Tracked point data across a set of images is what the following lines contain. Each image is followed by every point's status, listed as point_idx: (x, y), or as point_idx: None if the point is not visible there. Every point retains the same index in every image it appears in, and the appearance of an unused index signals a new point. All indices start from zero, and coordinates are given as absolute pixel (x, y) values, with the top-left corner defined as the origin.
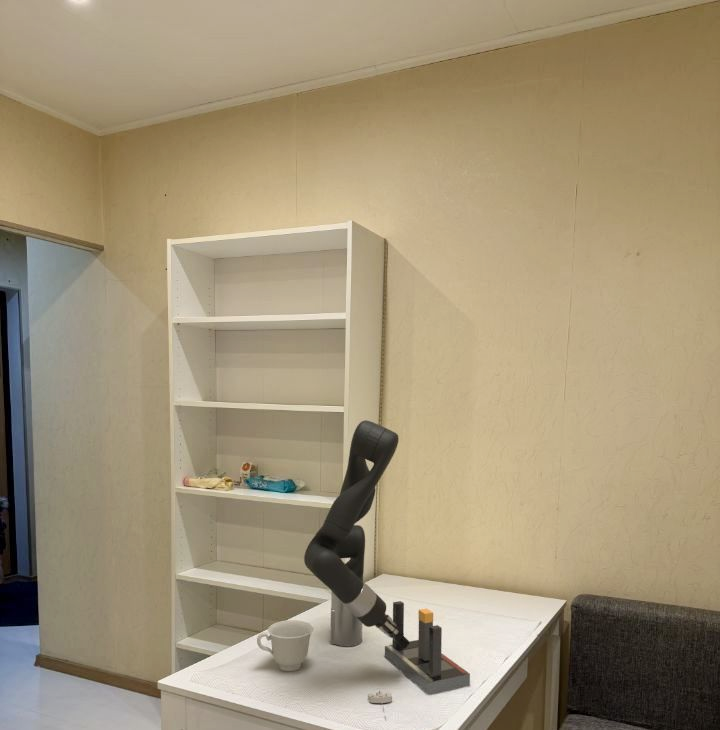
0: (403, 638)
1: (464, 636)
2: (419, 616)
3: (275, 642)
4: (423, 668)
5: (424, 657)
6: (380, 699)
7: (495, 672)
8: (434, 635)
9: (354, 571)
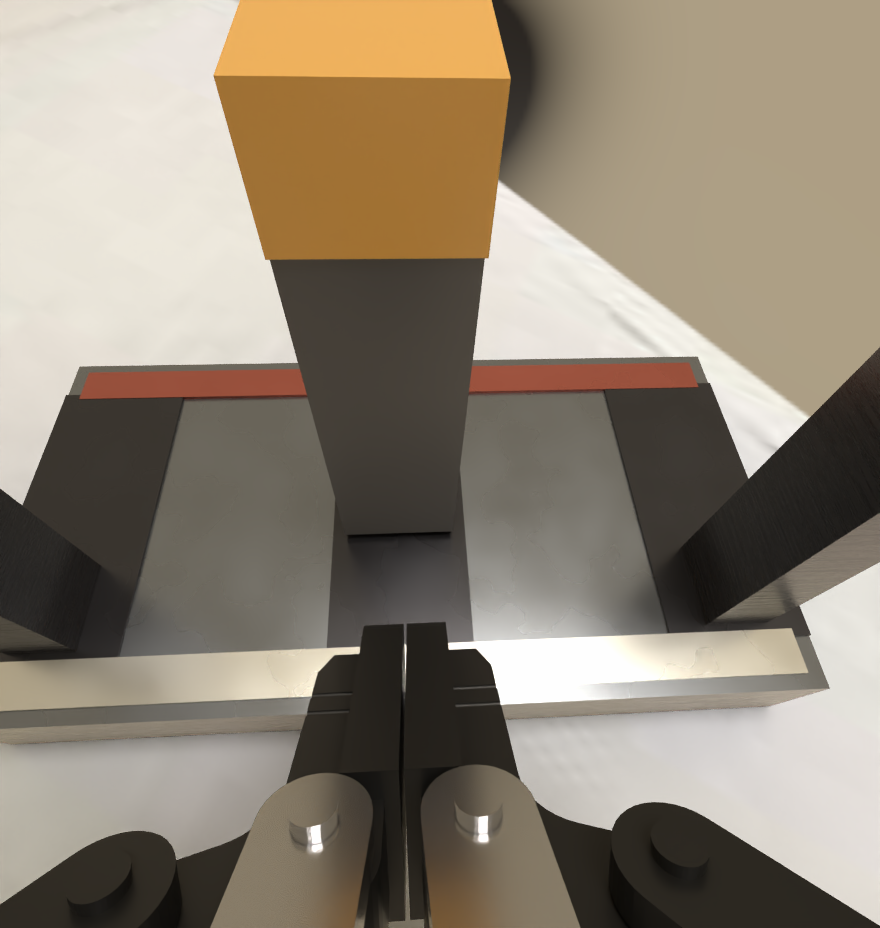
0: (508, 748)
1: (131, 181)
2: (289, 208)
3: None
4: (552, 597)
5: (451, 518)
6: None
7: (549, 249)
8: None
9: None
